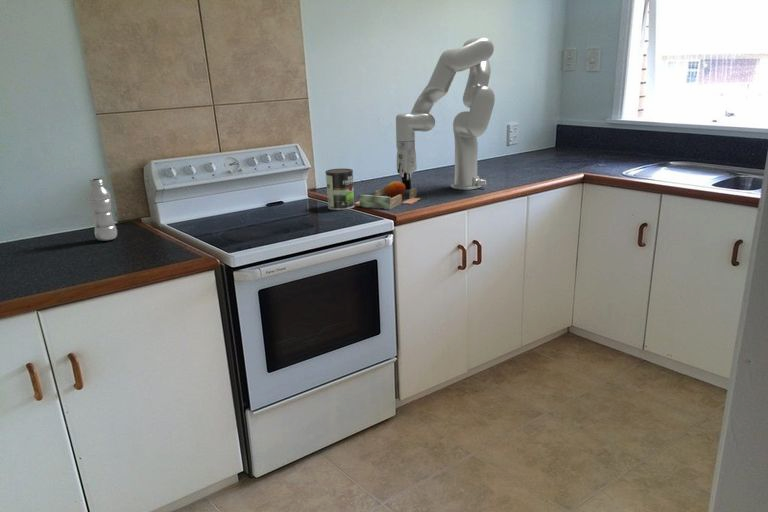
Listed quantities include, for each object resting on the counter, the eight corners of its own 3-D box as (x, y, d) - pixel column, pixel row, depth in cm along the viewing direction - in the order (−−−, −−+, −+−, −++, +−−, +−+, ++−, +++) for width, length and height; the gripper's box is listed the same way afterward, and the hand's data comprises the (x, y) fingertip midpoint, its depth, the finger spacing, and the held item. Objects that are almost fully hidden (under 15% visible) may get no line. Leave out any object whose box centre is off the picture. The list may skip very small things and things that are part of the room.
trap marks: (420, 199, 233) (420, 198, 232) (403, 208, 219) (403, 207, 219) (374, 195, 242) (374, 194, 242) (354, 204, 229) (354, 203, 229)
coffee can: (359, 205, 226) (358, 169, 222) (344, 211, 218) (342, 173, 214) (338, 203, 232) (336, 167, 227) (322, 208, 223) (319, 171, 219)
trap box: (416, 196, 239) (416, 185, 237) (390, 209, 218) (389, 197, 217) (388, 193, 244) (388, 183, 243) (359, 206, 224) (359, 195, 223)
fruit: (394, 198, 229) (388, 179, 231) (386, 205, 236) (381, 187, 238) (412, 195, 233) (406, 177, 234) (403, 202, 240) (398, 184, 241)
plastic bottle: (100, 237, 195) (89, 178, 188) (121, 236, 195) (110, 177, 189) (93, 243, 188) (80, 181, 182) (114, 242, 189) (103, 180, 183)
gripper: (405, 147, 231) (406, 193, 236) (421, 142, 243) (422, 186, 249) (389, 147, 234) (390, 192, 240) (405, 142, 246) (406, 185, 252)
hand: (406, 189), depth 244 cm, fingers closed
